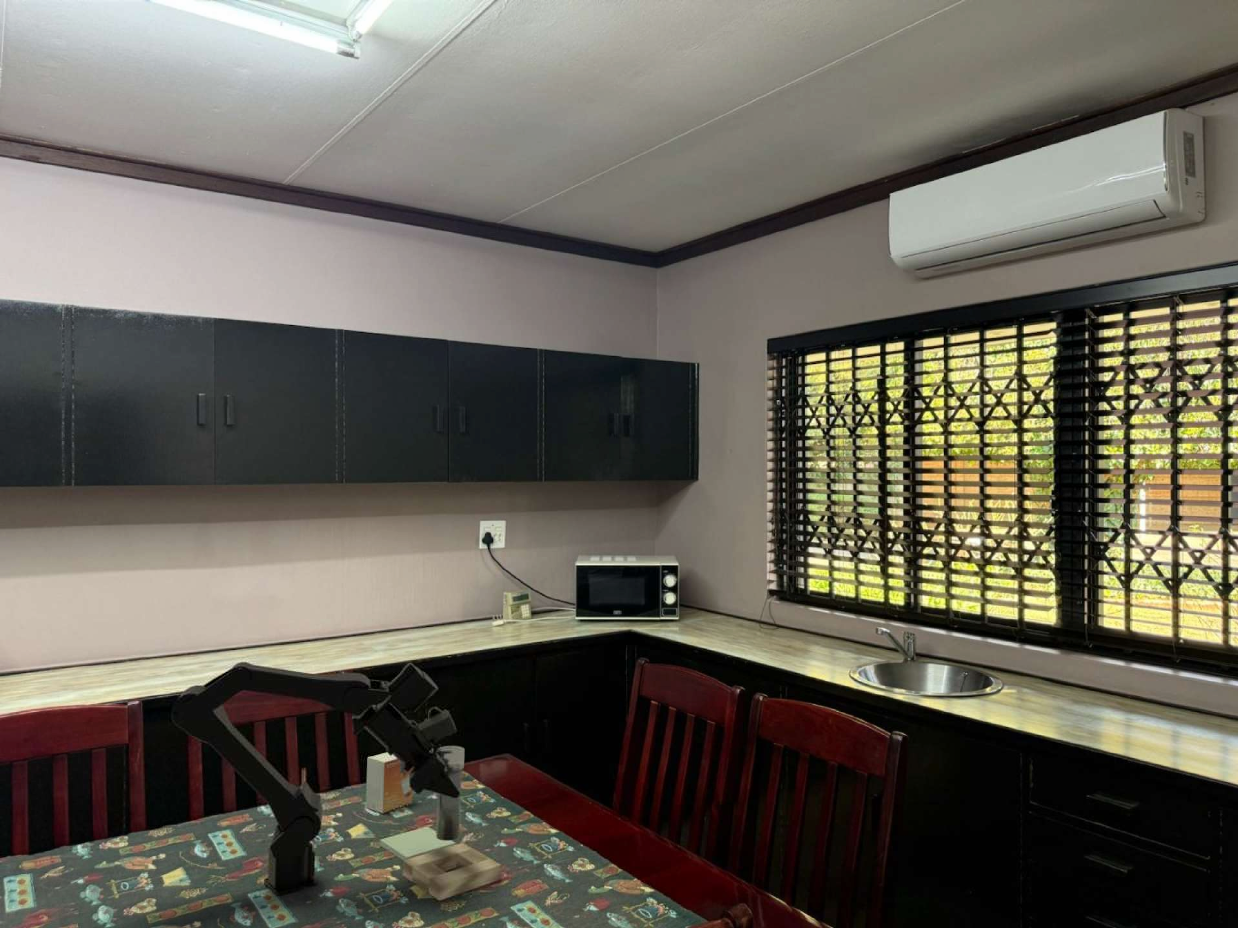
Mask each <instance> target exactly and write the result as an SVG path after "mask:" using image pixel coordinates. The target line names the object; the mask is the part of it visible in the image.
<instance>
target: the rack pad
mask: <svg viewBox="0 0 1238 928" xmlns="http://www.w3.org/2000/svg"><path fill="white" fill-rule="evenodd" d="M454 845H456V842H455V841H453V840H449V841H444V840H439V839H437V838H436V830H434V829H433V828H430V827H429V826H425V827H420V828H418V829H414V830H411V831H407V832H402V833H399V834H396V835H392V836H389V837H385V838H382V839H380V840H379V846H381V847H382V848H383V849H385V850H386V851H388V852H390V853H391V854H392V855H394V856H396V857H397V858H399V859H400V860H401V861H402V862H403V861H404V860H407V859H411V858H414V857H417V856H421V855H424V854H427V853H431V852H434V851H437V850H441V849H444V848H447V847H451V846H454Z"/></svg>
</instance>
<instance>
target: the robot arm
mask: <svg viewBox="0 0 1238 928" xmlns="http://www.w3.org/2000/svg"><path fill="white" fill-rule="evenodd" d="M438 690H439V687H438V685H437V684H436V683H435V681H434V680H432V679H431V677H429V675H428V674H426V672H425V671H422V670H421V669H420V668H419V667H417V666H415V664H413V663H412V662H410V661H409V662H408V663H407V664H406V665H405V666H403V669H402V670H401V671H400V673H398V675H396V676H395V678H393V679H392V680H391V682H390V681H387V680H376V679H369V678H368V677H367V675H365V674H362V673H360V672H338V673H331V674H313V673H309V672H303V671H302V672H301V671H295V670H290V669H289V670H288V669H283V668H278V667H277V668H275V667H271V666H265V665H264V666H263V665H255V664H252V663H249V662H246V661H240V662H237V663H236V664H235V665H233V666H232V667H231V668H230V669H228V670H227V671H224V672H223V673H221V674H219V675H218V676H216V677H214V678H212V679H210V681H208V682H206V683H205V684H203V685H199V684H197V685H192V686H190V687H188V688H187V689H184V691H183V692H182V693H181V694H180V696H178V698H177V699H176V700H175V701H174V702H173V704H172V707H171V711H170V717H171V720H172V722H173V723H174V726H176V727H178V728H179V729H180V730H182V731H184V732H185V733H186V734H188V735H189V736H191V737H192V738H194V739H196V740H199V741H200V742H203V743H206V744H208V745H209V746H211V747H212V748H213V749H214V750H215V751H216V753H217V754H218V755H220V756H221V757H222V758H223V759H224V761H225V762H227V764H229V765H230V766H231V768H232V769H233V770H234V771H235V772H236V773H237V774H238V775H239V776H240V777H241V778H242V779H243V780H244V781H245V782H246V783H247V784H248V785H249V786H250V787H251V788H252V789H253V791H255V792H256V793H257V794H258V795H259V796H260V797H261V798H262V799H263V800H264V801H265V802H266V803H267V805H268V806H269V808H270V810H271V812H272V814H273V816H274V818H275V820H276V822H277V824H276V825H275V827H274V831H273V835H272V839H271V843H270V846H269V848H268V865H267V867H268V869H267V873H268V875H267V877H265V878H264V879H263V883H264V884H265V885H266V886H267V887H268V888H270V890H272V891H273V892H274V893H275V894H276V895H278V896H281V895H285V894H287V893H292V892H294V891H298V890H301V889H304V888H308V887H311V886H315V885H317V880H316V879H314V877H315V873H316V872H315V870H316V852H315V851H314V849H313V848H314V847H313V843H312V842H311V841H313V840H314V839H316V837H317V836H318V835H319V833H320V831H321V830H322V829H321V828H322V822H323V821H322V820H323V814H324V808H323V807H324V806H323V803H322V802H321V798H322V796H321V795H319V794H317V793H315V791H313V790H312V789H311V787H310V785H309V784H308V783H307V781H303V782H302V784H301V785H300V786H296V785H295V784H292V783H290V782H289V781H288V780H287V779H285V778H284V777H283V775H281V774H280V772H279V771H277V769H276V768H275V767H274V766H273V765H272V764H271V763H270V762H269V761H268V760H267V759H266V758H265V757H264V756H263V755H262V754H261V753H260V752H259V751H258V750H257V749H256V748H255V747H254V746H253V744H251V742H249V740H248V739H247V738H246V737H245V736H244V735H243V734H241V732H240V731H239V730H238V729H237V728H236V727H235V726H234V725H233V724H232V722H231V720H230V718H229V716H228V714H227V712H226V710H225V708H224V703H226V702H228V700H230V699H232V698H233V697H234V696H236V695H237V694H239V693H240V692H241V691H247V692H256V693H262V694H269V695H274V696H275V695H276V696H282V697H289V698H295V699H303V700H309V701H315V702H317V703H320V704H322V705H324V706H326V707H329V708H330V709H332V710H333V709H334V710H336V711H339V712H341V713H345V714H349V715H352V717H351V722H352V725H353V726H352V735H353V736H357V735H358V734H359V733H360V732H361V731H363V729H365V730H367V731H368V733H370V734H371V736H373V737H374V738H375V739H376V740H377V741H378V742H379V743H380V744H381V745H382V746H384V748H385V749H386V753H388V754H389V755H390V756H391V755H392V754H393V755H394V756H395V757H396V758H397V759H398V760H399V761H400V762H401V763H402V764H403V767H404V769H405V770H406V771H407V772H408V771H409V770H410V769H411V768H412V767H413V769H412V770H411V771H410V772H409V785H410V788H411V789H412V790H413V791H414V792H415V794H417V795H419V794H421V793H422V792H423V791H424V790H426V791H429V792H433V793H436V794H438V793H440V794H443V795H446V796H449V797H453V798H457V797H458V796H459V795H460V792H459V790H458V789H457V788H456V786H455V785H454V783H453V782H452V781H451V779H450V778H449V776H448V775H447V773H446V772H445V760H444V757H443V758H441V757H440V756H439V755H438V754H437V749H438V748H440V747H442V746H441V744H440V743H439V744H438V745H436V746H435V745H434V743H437V742H439V741H440V740H442V739H444V738H446V737H448V736H449V737H450V736H452V735H454V734H456V733H457V731H458V730H457V727H456V725H455V721H454V720H453V718H452V716H451V714H450V711H449V710H447V709H445V708H444V709H443V710H441V709H440V708H439V707H438V706H434V707H433V706H432V707H431V708H429V709H428V715H427V718H424V721H421V722H420V723H417V721H415V719H413V720H412V719H408V718H407V717H406V716H405V715H403V713H404V714H406V713H408V714H410V712H412V713H416V711H417V710H418V709H420V707H422V705H424V704H425V702H427V700H429V698H430V697H431V696H433V695H434V694H435V693H436V692H437V691H438ZM391 702H392V703H394V705H395V706H396V707H397V708H399V709H397V708H396V707H395V706H394V705H393V704H392V703H391ZM401 712H403V713H401ZM358 714H360V715H358Z"/></svg>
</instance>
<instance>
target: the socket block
mask: <svg viewBox="0 0 1238 928" xmlns="http://www.w3.org/2000/svg"><path fill="white" fill-rule="evenodd" d="M402 876H403V877H405V878H406V879H407V880H409V881H410V882H412V883H413V884H414V885H416V886H417V887H419V888H420V889H422V890H423V891H425V892H426V893H428V894H429V895H431V896H432V897H433V898H435V899H436V900H437V901H443V900H445V899H449V898H450V897H453V896H457V895H460V894H462V893H465V892H468V891H471V890H475V889H477V888H480V887H482V886H485V885H489V884H492V883H494V882H497V881H500V879H501V876H502V864H501V863H499V862H497V861H495V860H493V859H492V858H490V857H488V856H486V855H485V854H483V853H481V852H479V851H478V850H475V848H473V847H471V846H469V845H467V844H466V843H464V842H461V843H458V844H455V845H454V846H451V847H447V848H444V849H441V850H437V851H434V852H431V853H427V854H424V855H421V856H417V857H414V858H411V859H407V860H404V861H403V860H402Z"/></svg>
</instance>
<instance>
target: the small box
mask: <svg viewBox="0 0 1238 928" xmlns="http://www.w3.org/2000/svg"><path fill="white" fill-rule="evenodd" d="M366 764H367V765H366V766H367V767H366V789H365V791H366V792H365V793H366V794H365V808H366V809H369V810H371V811H375V812H377V813H380V814H385V813H388V812H390V811H393V810H396V808H397V809H400V808H401V807H400V806H403V807H405V806H404V805H407V804H409V803H412V804H413V795H414V794H413V790H412V789H411V788H410V785H409V772H410V771H411V770H412V769H413V768H414V767H412V768H411V769H410V770H409V771H408V772H407V771H406V770H405V769H404V767H403V764H402V763H401V762H400V761H399V760H398V759H397V758H396V757H395V756H394V755H393V754H392V755H391V756H390V755H389V754H388V753H387V752H383V753H380V754H376V755H373V756H368V757H367V763H366ZM407 806H408V805H407ZM399 807H400V808H399Z"/></svg>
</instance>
